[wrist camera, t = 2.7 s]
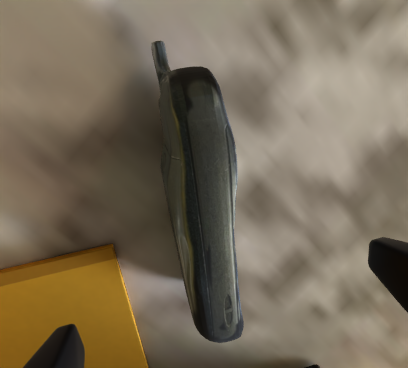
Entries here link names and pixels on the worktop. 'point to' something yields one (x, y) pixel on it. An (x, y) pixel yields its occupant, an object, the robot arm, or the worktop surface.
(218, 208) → the mobile phone
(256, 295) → the worktop surface
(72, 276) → the yellow flat slab
